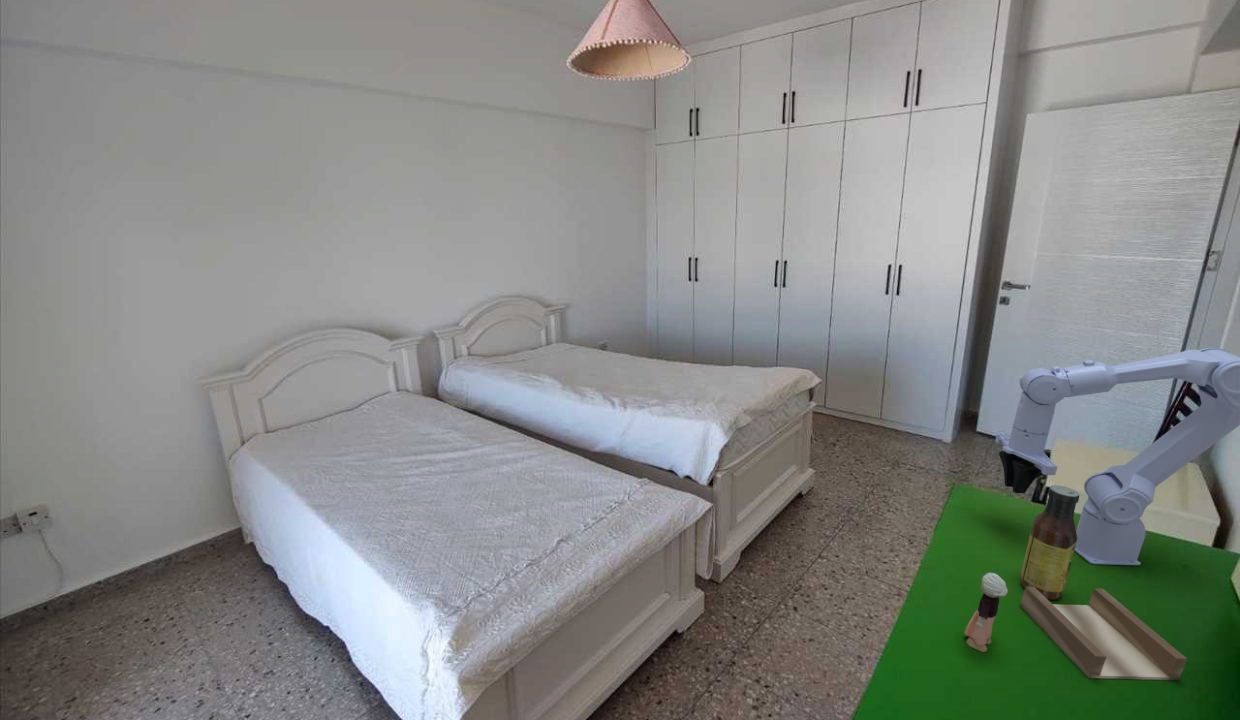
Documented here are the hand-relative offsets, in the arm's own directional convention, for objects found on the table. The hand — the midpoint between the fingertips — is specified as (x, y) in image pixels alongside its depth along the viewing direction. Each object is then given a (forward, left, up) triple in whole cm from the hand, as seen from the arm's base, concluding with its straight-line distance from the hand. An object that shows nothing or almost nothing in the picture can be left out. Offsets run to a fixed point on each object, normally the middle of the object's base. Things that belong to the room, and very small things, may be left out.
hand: (1014, 489), depth 110 cm
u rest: (+5, +29, -10) cm, 31 cm away
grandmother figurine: (+24, +30, -11) cm, 40 cm away
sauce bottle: (+5, +17, -11) cm, 21 cm away
